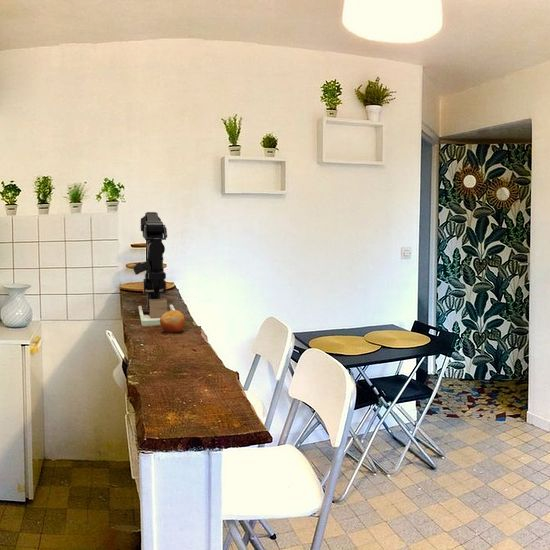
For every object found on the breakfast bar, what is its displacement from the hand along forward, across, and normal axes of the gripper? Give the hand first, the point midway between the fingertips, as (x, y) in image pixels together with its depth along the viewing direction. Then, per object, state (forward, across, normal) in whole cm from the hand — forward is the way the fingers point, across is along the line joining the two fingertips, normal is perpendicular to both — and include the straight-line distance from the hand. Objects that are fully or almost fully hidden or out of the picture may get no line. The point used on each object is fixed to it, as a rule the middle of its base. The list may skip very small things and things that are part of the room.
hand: (156, 294), depth 198 cm
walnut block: (+6, +10, 0) cm, 12 cm away
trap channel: (+7, +9, 0) cm, 12 cm away
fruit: (+7, +33, +3) cm, 34 cm away
